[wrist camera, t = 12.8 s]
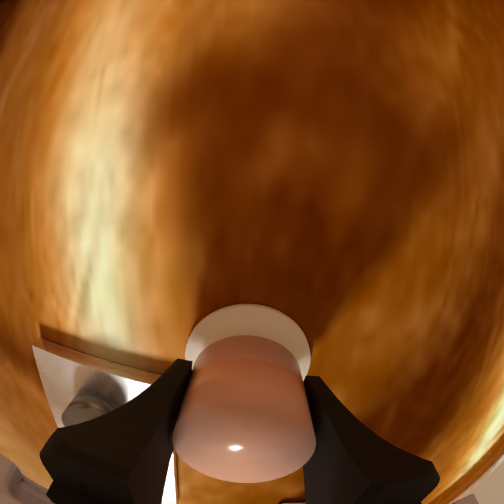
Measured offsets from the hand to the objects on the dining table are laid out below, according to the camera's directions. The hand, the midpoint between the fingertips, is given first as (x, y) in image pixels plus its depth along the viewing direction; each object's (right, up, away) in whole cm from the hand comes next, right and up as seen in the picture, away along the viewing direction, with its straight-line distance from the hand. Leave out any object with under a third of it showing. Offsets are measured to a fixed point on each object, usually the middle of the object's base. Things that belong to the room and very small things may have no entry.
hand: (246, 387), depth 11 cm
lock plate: (-9, -8, +4) cm, 13 cm away
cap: (0, 0, 0) cm, 0 cm away
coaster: (0, +1, +2) cm, 2 cm away
